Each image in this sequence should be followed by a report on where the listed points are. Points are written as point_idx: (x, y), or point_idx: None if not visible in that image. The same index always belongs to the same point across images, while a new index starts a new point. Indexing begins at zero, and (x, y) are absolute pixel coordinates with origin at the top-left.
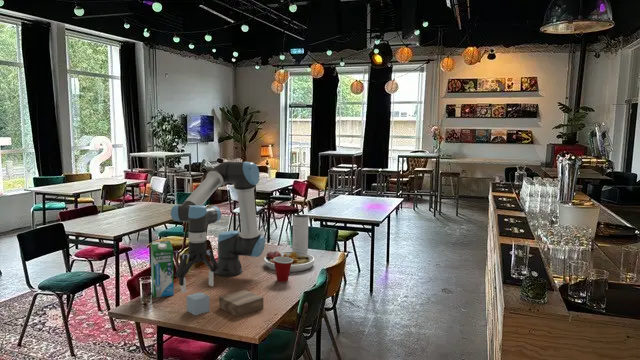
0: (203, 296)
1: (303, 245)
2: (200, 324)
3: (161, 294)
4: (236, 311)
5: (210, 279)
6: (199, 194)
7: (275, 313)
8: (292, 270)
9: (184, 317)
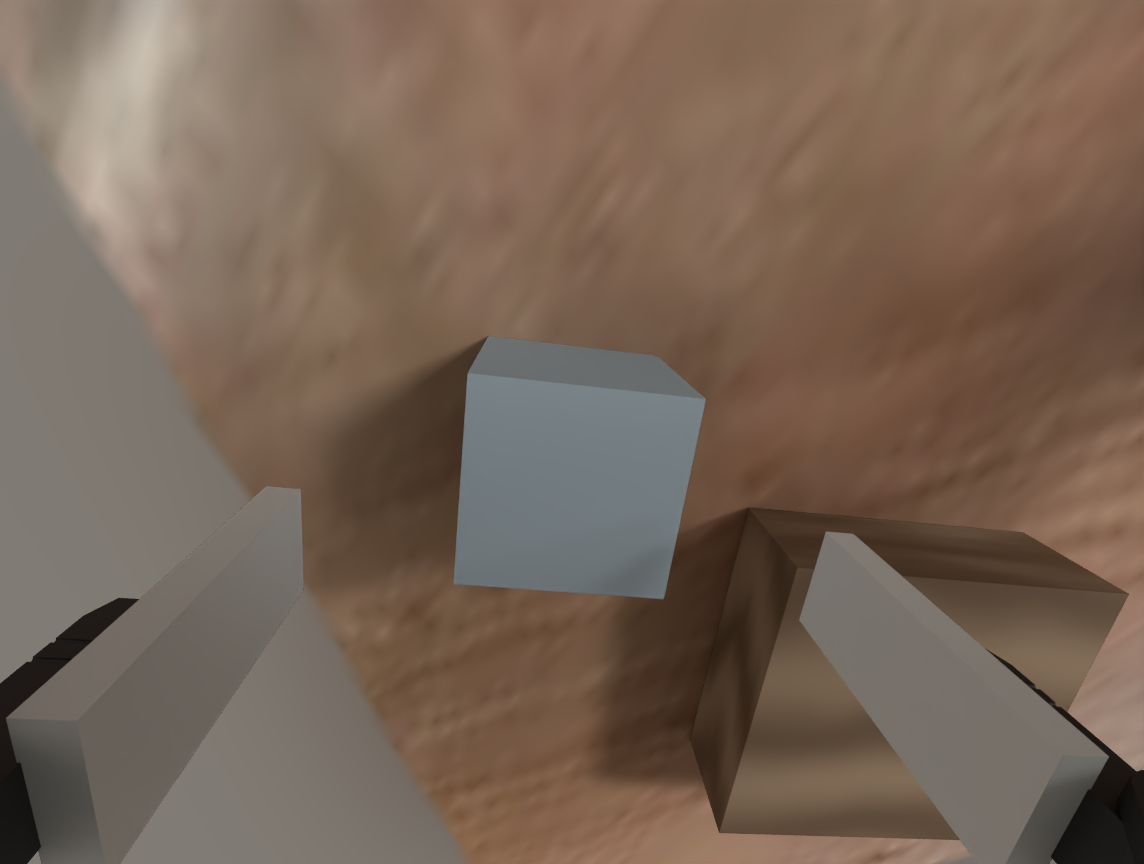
0: (611, 556)
1: None
2: (401, 657)
3: None
4: (705, 760)
5: (876, 654)
6: None
7: (887, 850)
8: None
9: (380, 451)
